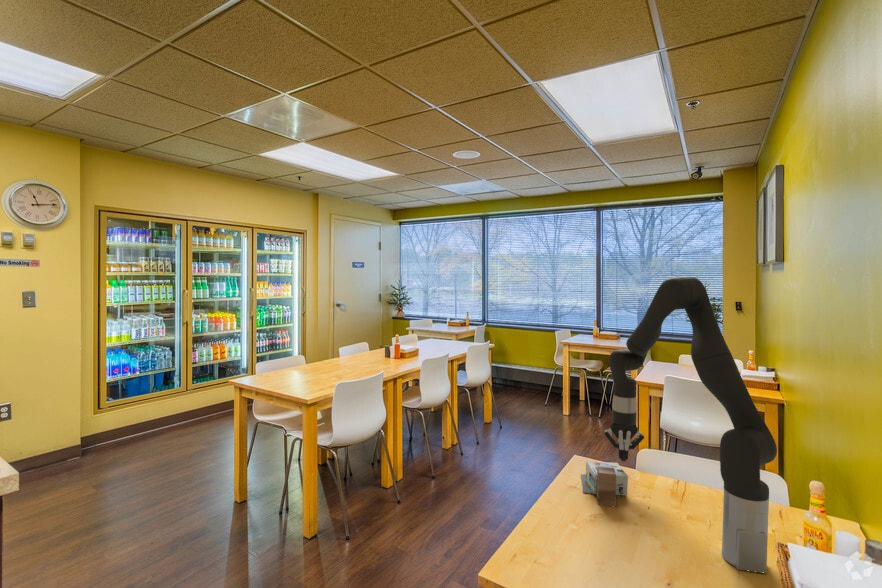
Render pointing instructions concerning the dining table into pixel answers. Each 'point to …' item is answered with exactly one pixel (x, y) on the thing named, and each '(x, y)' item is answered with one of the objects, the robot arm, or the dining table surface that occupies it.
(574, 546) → the dining table surface
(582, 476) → the mat
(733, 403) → the robot arm
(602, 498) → the walnut block
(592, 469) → the light bulb box
